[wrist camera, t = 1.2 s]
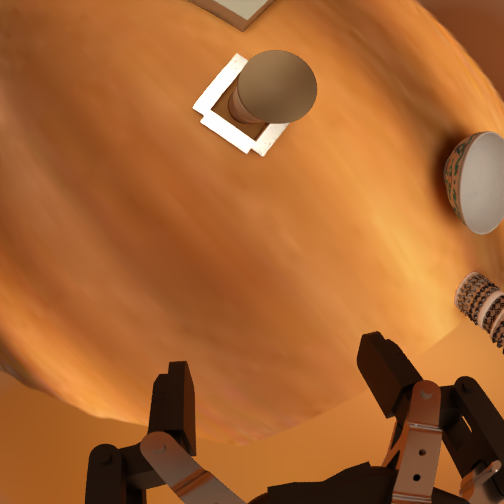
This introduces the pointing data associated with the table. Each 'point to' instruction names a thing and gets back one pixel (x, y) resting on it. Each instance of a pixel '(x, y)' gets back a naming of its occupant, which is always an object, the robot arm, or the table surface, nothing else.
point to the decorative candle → (482, 305)
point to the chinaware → (477, 181)
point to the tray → (235, 10)
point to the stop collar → (225, 128)
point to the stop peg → (273, 89)
